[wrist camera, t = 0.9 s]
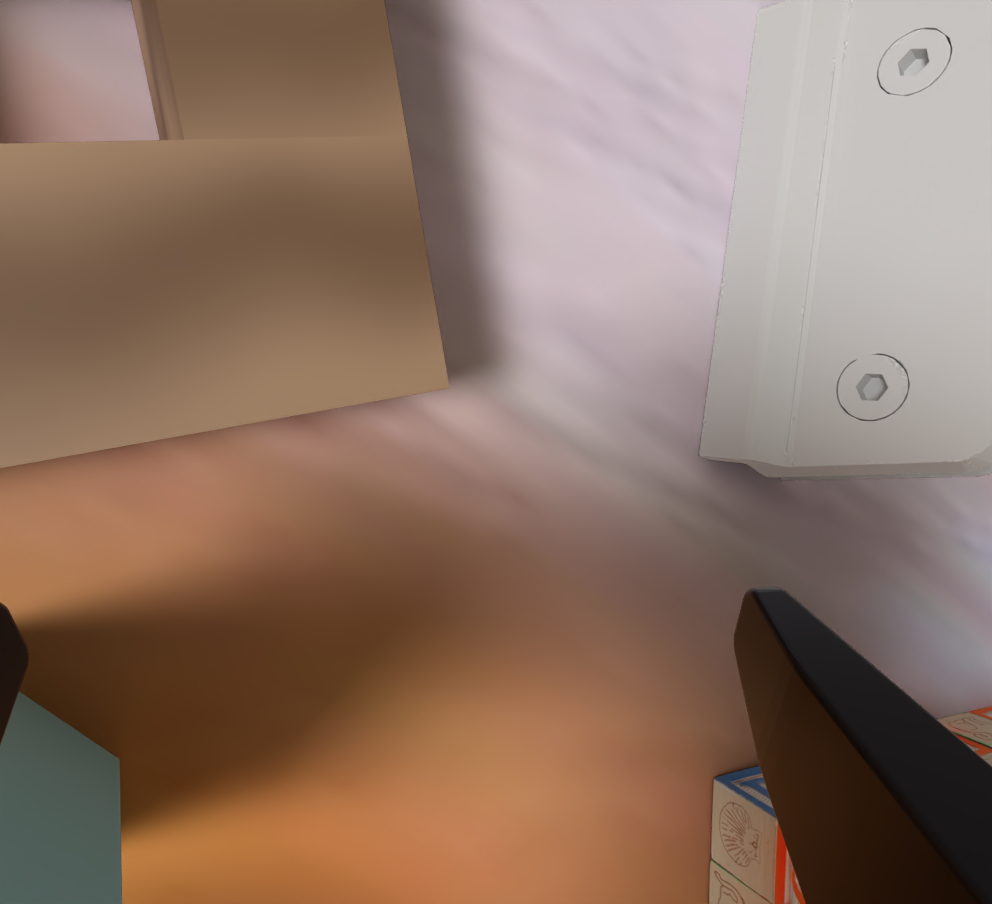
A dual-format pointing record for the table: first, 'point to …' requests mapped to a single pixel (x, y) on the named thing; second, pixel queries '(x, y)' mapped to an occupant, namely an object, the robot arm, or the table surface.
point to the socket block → (219, 239)
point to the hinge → (860, 247)
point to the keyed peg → (57, 813)
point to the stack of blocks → (757, 836)
